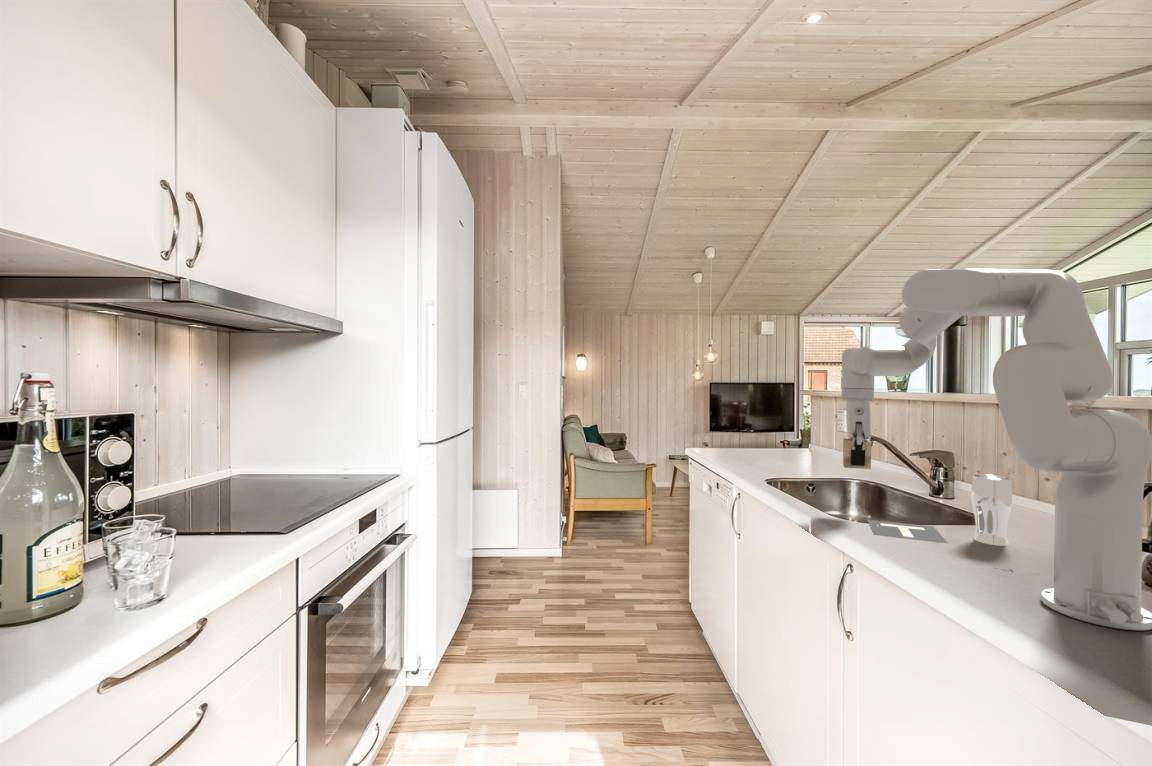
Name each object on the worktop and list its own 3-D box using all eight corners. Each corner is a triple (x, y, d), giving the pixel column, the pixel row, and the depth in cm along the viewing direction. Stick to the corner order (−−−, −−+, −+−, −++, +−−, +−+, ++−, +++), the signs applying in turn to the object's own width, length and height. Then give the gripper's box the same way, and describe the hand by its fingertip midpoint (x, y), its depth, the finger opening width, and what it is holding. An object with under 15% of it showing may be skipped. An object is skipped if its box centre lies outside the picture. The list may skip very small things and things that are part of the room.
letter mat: (948, 547, 110) (948, 543, 110) (873, 538, 116) (873, 534, 116) (933, 529, 123) (933, 526, 123) (867, 522, 128) (867, 519, 128)
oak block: (870, 469, 130) (871, 442, 130) (844, 467, 132) (844, 440, 132) (868, 465, 135) (868, 439, 135) (842, 464, 138) (843, 438, 138)
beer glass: (1019, 551, 108) (1020, 480, 107) (982, 548, 109) (982, 479, 109) (999, 541, 114) (1000, 474, 114) (964, 538, 116) (965, 473, 116)
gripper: (878, 396, 124) (877, 469, 124) (870, 394, 140) (869, 459, 140) (843, 395, 127) (842, 467, 128) (839, 394, 143) (838, 457, 143)
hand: (856, 462), depth 134 cm, fingers closed on oak block, 6 cm apart
